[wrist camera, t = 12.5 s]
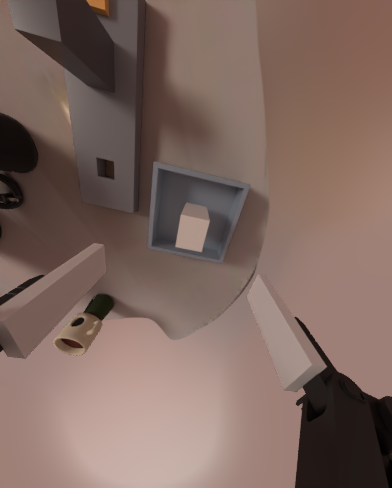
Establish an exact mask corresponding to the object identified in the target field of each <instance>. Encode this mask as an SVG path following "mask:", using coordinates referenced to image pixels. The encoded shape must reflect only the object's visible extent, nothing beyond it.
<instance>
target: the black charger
mask: <svg viewBox="0 0 392 488" xmlns="http://www.w3.org/2000/svg"><path fill="white" fill-rule="evenodd" d="M8 5H9V9H10V14H11V18H12V23H13V27H14V29H15V30H16V31H18V32H19V33H20V34H22V35H23V36H24V37H25V38H27V39H28V40H29V41H31V42H32V43H33V44H34V45H36V46H37V47H38V48H40V49H41V50H42V51H43V52H45V53H46V54H47V55H49V56H50V57H51V58H52V59H54V60H55V61H56V62H58V63H59V64H60V65H61V66H63V67H64V68H65V69H67V70H68V71H69V72H70V73H72V74H73V75H74V76H76V77H77V78H78V79H79V80H81V81H82V82H83V83H85V84H86V85H88V86H91V87H95V88H99V89H102V90H106V91H110V92H114V93H115V70H114V41H113V40H112V38H111V37H110V35H109V34H108V32H107V31H106V29H105V28H104V26H103V25H102V23H101V22H100V20H99V19H98V17H97V16H96V14H95V13H94V11H93V10H92V8H91V6H90V5H89V3H88V2H87V0H8Z"/></svg>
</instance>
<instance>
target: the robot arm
mask: <svg viewBox="0 0 392 488" xmlns="http://www.w3.org/2000/svg"><path fill="white" fill-rule="evenodd" d="M0 237H1V228H0ZM105 273H106V260H105V247H104V245H103V244H98V243H93V244H92V245H90V246H89V247H87V248H86V249H84V250H83V251H81V252H80V253H78V254H77V255H75V256H74V257H72V258H71V259H70V260H68V261H67V262H65V263H64V264H62V265H61V266H59V267H58V268H56V269H55V270H53V271H52V272H50V273H49V274H47V275H39V276H37V277H34V278H32V279H29V280H27V281H26V282H24V283H23V284H21V285H19V286H18V287H17V288H15V289H13V290H11V291H10V292H8V294H5V295H4V296H2V297H0V352H1V351H2V350H4V352H5V353H6V355H7V356H8V357H15V358H16V357H17V358H24V359H25V358H27V356H28V355H29V354H30V353H31V352H32V351H33V350H34V349H35V348H36V347H37V346H38V345H39V344H40V343H41V341H42V340H43V339H44V338H45V337H46V336H47V335H48V334H49V333H50V332H51V331H52V329H54V327H55V326H56V325H57V324H58V323H59V322H60V321H61V320H62V319H63V318H64V317H65V316H66V315H67V314H68V312H69V311H70V310H71V309H72V308H73V307H74V306H75V305H76V304H77V303H78V302H79V301H80V300H81V299H82V297H83V296H84V295H85V294H86V293H87V292H88V291H89V290H90V289H91V288H92V287H93V286H94V285H95V283H96V282H97V281H98V280H99V279H100V278H101V277H102V276H103V275H104V274H105ZM247 298H248V301H249V303H250V306H251V309H252V311H253V314H254V316H255V319H256V321H257V324H258V326H259V329H260V332H261V334H262V336H263V339H264V342H265V344H266V347H267V349H268V352H269V354H270V357H271V359H272V362H273V365H274V367H275V370H276V372H277V375H278V377H279V380H280V382H281V385H282V388H283V390H285V391H294V392H297V391H298V390H299V389H301V388H302V387H303V389H304V391H305V393H306V394H305V395H304V396H303V397H301V398H300V399H299V400H297V402H296V405H297V406H299V405H300V404H302V403H303V406H302V408H301V409H302V418H301V429H300V439H299V450H298V461H297V472H296V484H295V488H392V397H390V396H385V397H383V398H381V399H377V398H375V397H372V396H371V395H368V394H366V393H364V392H362V390H361V389H360V388H359V387H358V386H357V385H356V384H355V382H353V381H352V380H351V379H350V378H348V377H347V376H345V375H344V374H342V373H339V372H338V371H337V370H336V369H335V368H334V366H333V365H332V363H331V362H330V360H329V359H328V357H327V356H326V355H325V353H324V352H323V351H322V349H321V348H320V346H319V345H318V343H317V342H316V341H315V339H314V338H313V336H312V335H311V334H310V332H309V330H308V329H307V328H306V326H305V325H304V324H303V323H302V322H301V321H300V320H299V319H298V318H297V317H294V316H293V315H292V313H291V312H290V310H289V309H288V307H287V306H286V304H285V303H284V301H283V300H282V298H281V297H280V295H279V294H278V292H277V291H276V289H275V288H274V286H273V285H272V283H271V282H270V280H269V279H268V277H267V276H266V275H260V274H258V276H257V278H256V280H255V281H254V283H253V285H252V287H251V289H250V291H249V293H248V295H247Z"/></svg>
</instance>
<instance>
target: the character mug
mask: <svg viewBox="0 0 392 488" xmlns="http://www.w3.org/2000/svg"><path fill="white" fill-rule="evenodd" d="M94 297H95V296H94ZM94 297H93V298H94ZM113 306H114V303H113V302H112V300H111V299H110V298H109V297H108V296H106V295H102V294H98V295H97V296H96V297H95V299H94V300H93V299H92V300H91V301H90V303H89V305H88V306H87V308H86V309H85V311H84V312H83V313H79V314H77V315H76V316H75V317H74V318H72V320H71V322H70V323H69V324H68V325H67V326H66V327H65V328H64V329H63V330H62V331H61V332H60V334H59V335H58V336H57V337H56V338H55V340H54V342H53V344H54V346H55V347H56V348H57V349H58V350H59V351H61V352H64V353H66V354H69V355H76V356H77V355H83V354H84V353H85V352H86V351H87V350H88V348H89V346H90V345H91V343H92V342H93V340H94V339H95V337H96V335H97V334H98V332H99V331H100V329H101V327H102V320H103V319H104V317H105V316H106V315H107V314H108V313H109V312H110V310H111V309H112V308H113Z"/></svg>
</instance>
